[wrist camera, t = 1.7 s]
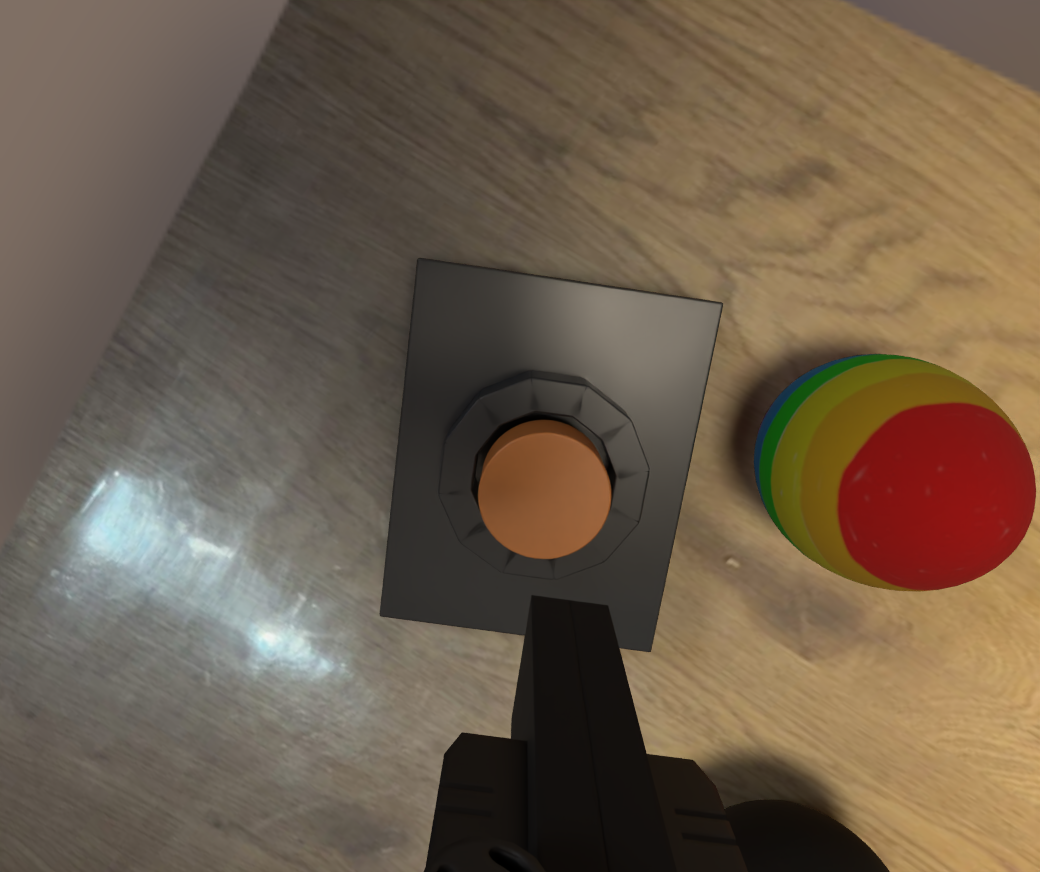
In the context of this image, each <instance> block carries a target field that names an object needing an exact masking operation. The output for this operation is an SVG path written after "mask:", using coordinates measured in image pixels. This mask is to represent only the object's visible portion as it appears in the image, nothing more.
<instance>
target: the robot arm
mask: <svg viewBox="0 0 1040 872" xmlns="http://www.w3.org/2000/svg"><path fill="white" fill-rule="evenodd" d="M726 816H727V815H726V812H725V809H724V807H723V804H722V801H721V799H720V796H719V793H718V791H717V788H716V786H715V785H714V784H713V782H712V781H711V780H710V779H709V778H708V777H707V775H706V774H705V773H704V772H703V771H702V770H701V769H700V767H699V766H698V765H697V764H696V763H695V762H694V760H690V759H682V758H674V757H667V756H659V755H651V754H646V750H645V746H644V742H643V738H642V734H641V730H640V726H639V723H638V719H637V715H636V711H635V707H634V703H633V699H632V695H631V692H630V688H629V684H628V680H627V676H626V672H625V668H624V664H623V661H622V657H621V653H620V649H619V645H618V641H617V637H616V634H615V630H614V626H613V622H612V618H611V614H610V610H609V606H608V605H602V604H595V603H587V602H580V601H572V600H565V599H558V598H550V597H543V596H535V595H531V601H530V607H529V613H528V620H527V626H526V632H525V638H524V645H523V651H522V657H521V663H520V670H519V676H518V682H517V688H516V695H515V701H514V707H513V713H512V723H511V739H509V738H501V737H493V736H485V735H478V734H470V733H461V734H460V735H459V737H458V738H457V739H456V740H455V742H454V743H453V744H452V745H451V746H450V748H449V749H448V750H447V751H446V752H445V754H444V759H443V765H442V771H441V777H440V784H439V789H438V795H437V801H436V808H435V814H434V820H433V826H432V832H431V838H430V844H429V850H428V856H427V862H426V868H425V870H424V872H748V870H747V868H746V865H745V862H744V860H743V857H742V854H741V852H740V849H739V846H736V838H735V836H734V833H733V831H732V828H731V825H730V823H729V821H727V819H726Z"/></svg>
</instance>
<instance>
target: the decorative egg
mask: <svg viewBox="0 0 1040 872" xmlns="http://www.w3.org/2000/svg"><path fill="white" fill-rule="evenodd" d="M754 469H755V478H756V483H757V487H758V491H759V494H760V496H761V499H762V502H763V504H764V506H765V508H766V510H767V512H768V514H769V516H770V517H771V519H772V520H773V522H774V523H775V525H776V526H777V527H778V529H779V530H780V531H781V533H782V534H783V535H784V536H785V537H786V538H787V539H788V540H789V541H790V542H791V543H792V544H793V545H794V546H795V547H796V548H797V549H798V550H799V551H800V552H802V553H803V554H804V555H805V556H807V557H808V558H809V559H811V560H812V561H814V562H816V563H817V564H819V565H821V566H822V567H824V568H825V569H827V570H829V571H831V572H834V573H836V574H838V575H840V576H842V577H844V578H847V579H849V580H852V581H855V582H858V583H861V584H865V585H868V586H872V587H877V588H883V589H889V590H897V591H929V590H939V589H944V588H948V587H953V586H958V585H961V584H963V583H966V582H969V581H972V580H974V579H976V578H978V577H981V576H983V575H985V574H986V573H988V572H989V571H991V570H993V569H994V568H996V567H997V566H998V565H1000V564H1001V563H1002V562H1003V561H1004V560H1005V559H1007V558H1008V557H1009V556H1010V555H1011V554H1012V553H1013V552H1014V550H1015V549H1016V548H1017V547H1018V545H1019V544H1020V542H1021V541H1022V539H1023V538H1024V536H1025V534H1026V532H1027V530H1028V528H1029V525H1030V523H1031V520H1032V516H1033V512H1034V507H1035V498H1036V484H1035V475H1034V470H1033V465H1032V462H1031V459H1030V455H1029V453H1028V450H1027V448H1026V445H1025V443H1024V441H1023V439H1022V437H1021V436H1020V434H1019V432H1018V430H1017V428H1016V427H1015V426H1014V424H1013V423H1012V422H1011V420H1010V419H1009V417H1008V416H1007V415H1006V414H1005V413H1004V412H1003V411H1002V409H1001V408H1000V407H999V406H998V405H997V404H996V403H995V402H994V401H993V400H992V399H991V398H990V397H988V396H987V395H986V394H985V393H984V392H983V391H981V390H980V389H979V388H977V387H976V386H974V385H973V384H972V383H970V382H969V381H967V380H966V379H964V378H962V377H960V376H958V375H957V374H955V373H953V372H951V371H949V370H947V369H945V368H942V367H940V366H937V365H935V364H932V363H929V362H926V361H923V360H920V359H915V358H911V357H905V356H898V355H886V354H867V355H856V356H851V357H846V358H842V359H838V360H834V361H831V362H828V363H826V364H823V365H821V366H819V367H816V368H814V369H812V370H810V371H809V372H807V373H805V374H804V375H802V376H800V377H799V378H798V379H796V380H795V381H794V382H793V383H791V384H790V385H789V386H788V387H787V388H786V389H785V390H784V391H783V392H782V393H781V394H780V395H779V396H778V397H777V398H776V400H775V401H774V402H773V404H772V405H771V406H770V408H769V410H768V411H767V413H766V415H765V417H764V419H763V421H762V423H761V426H760V428H759V431H758V435H757V439H756V443H755V451H754Z"/></svg>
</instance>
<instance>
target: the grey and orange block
mask: <svg viewBox="0 0 1040 872" xmlns="http://www.w3.org/2000/svg"><path fill="white" fill-rule="evenodd" d="M722 308H723V303H722V302H716V301H710V300H703V299H697V298H690V297H683V296H676V295H669V294H663V293H656V292H649V291H642V290H636V289H629V288H622V287H615V286H609V285H602V284H595V283H588V282H582V281H575V280H568V279H561V278H554V277H548V276H541V275H534V274H527V273H521V272H514V271H507V270H500V269H494V268H487V267H480V266H473V265H467V264H460V263H453V262H446V261H440V260H433V259H425V258H418V259H417V267H416V277H415V286H414V295H413V305H412V314H411V324H410V333H409V342H408V352H407V361H406V371H405V380H404V390H403V399H402V408H401V418H400V427H399V437H398V446H397V455H396V465H395V474H394V484H393V493H392V502H391V512H390V521H389V531H388V540H387V550H386V559H385V568H384V578H383V587H382V597H381V606H380V616H382V617H389V618H397V619H404V620H412V621H419V622H427V623H434V624H442V625H449V626H457V627H465V628H472V629H480V630H487V631H495V632H502V633H510V634H517V635H525V632H526V626H527V620H528V613H529V607H530V601H531V595H535V596H543V597H550V598H558V599H565V600H572V601H580V602H587V603H595V604H602V605H608V606H609V610H610V614H611V618H612V622H613V626H614V630H615V634H616V637H617V641H618V645H619V648H622V649H630V650H637V651H645V652H651V649H652V644H653V639H654V635H655V630H656V625H657V620H658V615H659V611H660V606H661V601H662V596H663V591H664V587H665V582H666V577H667V572H668V567H669V563H670V558H671V553H672V548H673V543H674V539H675V534H676V529H677V524H678V519H679V514H680V510H681V505H682V500H683V495H684V490H685V486H686V481H687V476H688V471H689V466H690V462H691V457H692V452H693V447H694V442H695V438H696V433H697V428H698V423H699V418H700V414H701V409H702V404H703V399H704V394H705V390H706V385H707V380H708V375H709V370H710V366H711V361H712V356H713V351H714V346H715V342H716V337H717V332H718V327H719V322H720V318H721V313H722ZM534 420H553V421H558V422H562V423H565V424H568V425H570V426H572V427H574V428H576V429H577V430H579V431H580V432H582V433H583V434H584V435H585V436H586V437H588V438H589V440H590V441H591V442H592V443H593V444H594V446H595V447H596V449H597V450H598V452H599V455H600V457H601V459H602V461H603V464H604V466H605V468H606V471H607V473H608V477H609V480H610V485H611V506H610V510H609V514H608V517H607V519H606V521H605V523H604V525H603V527H602V529H601V530H600V531H599V533H598V534H597V535H596V536H595V537H594V538H593V539H592V540H591V542H589V543H588V544H587V545H585V546H584V547H583V548H581V549H579V550H578V551H576V552H574V553H571V554H569V555H566V556H563V557H559V558H553V559H535V558H530V557H526V556H523V555H520V554H517V553H515V552H513V551H511V550H509V549H508V548H506V547H505V546H503V545H502V544H501V543H500V542H498V541H497V540H496V539H495V537H494V536H493V535H492V534H491V533H490V531H489V530H488V528H487V527H486V525H485V523H484V521H483V519H482V516H481V513H480V509H479V503H478V488H479V483H480V478H481V473H482V469H483V464H484V461H485V458H486V456H487V454H488V452H489V450H490V448H491V447H492V446H493V444H494V443H495V442H496V441H497V440H498V438H499V437H500V436H502V435H503V434H504V433H505V432H507V431H508V430H510V429H511V428H513V427H515V426H517V425H519V424H522V423H525V422H529V421H534Z"/></svg>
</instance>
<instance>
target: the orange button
mask: <svg viewBox="0 0 1040 872" xmlns="http://www.w3.org/2000/svg"><path fill="white" fill-rule="evenodd" d="M478 503H479V509H480V513H481V516H482V519H483V521H484V523H485V525H486V527H487V528H488V530H489V531H490V533H491V534H492V535H493V536H494V537H495V539H496V540H497V541H498V542H500V543H501V544H502V545H503V546H505V547H506V548H508V549H509V550H511V551H513V552H515V553H517V554H520V555H523V556H526V557H530V558H535V559H553V558H559V557H563V556H566V555H569V554H571V553H574V552H576V551H578V550H579V549H581V548H583V547H584V546H585V545H587V544H588V543H589V542H591V540H592V539H593V538H594V537H595V536H596V535H597V534H598V533H599V531H600V530H601V529H602V527H603V525H604V523H605V521H606V519H607V517H608V514H609V510H610V506H611V485H610V480H609V477H608V473H607V471H606V468H605V466H604V464H603V461H602V459H601V457H600V455H599V452H598V450H597V449H596V447H595V446H594V444H593V443H592V442H591V441H590V440H589V438H588V437H586V436H585V435H584V434H583V433H582V432H580V431H579V430H577V429H576V428H574V427H572V426H570V425H568V424H565V423H562V422H558V421H553V420H534V421H529V422H525V423H522V424H519V425H517V426H515V427H513V428H511V429H510V430H508V431H507V432H505V433H504V434H503V435H502V436H500V437H499V438H498V440H497V441H496V442H495V443H494V444H493V446H492V447H491V448H490V450H489V452H488V454H487V456H486V458H485V461H484V464H483V469H482V473H481V478H480V483H479V488H478Z"/></svg>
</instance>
